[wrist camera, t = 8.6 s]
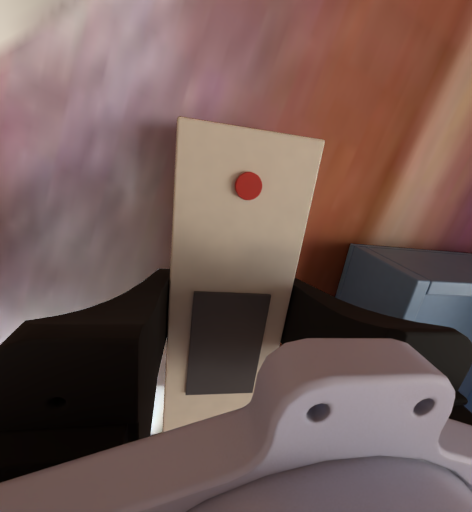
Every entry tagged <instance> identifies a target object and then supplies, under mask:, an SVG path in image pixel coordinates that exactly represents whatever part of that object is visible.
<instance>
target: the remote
mask: <svg viewBox="0 0 472 512" xmlns="http://www.w3.org/2000/svg"><path fill="white" fill-rule="evenodd" d="M324 143H325V141H324V140H322V139H316V138H310V137H304V136H297V135H291V134H285V133H279V132H273V131H267V130H261V129H254V128H248V127H242V126H236V125H230V124H224V123H218V122H211V121H205V120H199V119H193V118H187V117H181V116H180V117H178V118H177V132H176V154H175V175H174V197H173V218H172V240H171V261H170V283H169V305H168V326H167V348H166V369H165V391H164V412H163V432H165V431H169V430H172V429H175V428H178V427H181V426H185V425H188V424H191V423H194V422H198V421H201V420H204V419H207V418H210V417H214V416H217V415H220V414H223V413H227V412H230V411H233V410H236V409H239V408H243V407H245V406H246V405H247V404H249V403H250V401H251V399H252V396H253V393H254V388H255V383H256V378H257V374H258V372H259V370H260V368H261V366H262V364H263V362H264V360H265V358H266V356H268V355H269V354H271V353H272V352H273V351H275V350H276V349H277V348H279V346H280V342H281V337H282V333H283V328H284V324H285V319H286V315H287V310H288V305H289V301H290V296H291V292H292V287H293V283H294V278H295V274H296V269H297V265H298V260H299V256H300V251H301V247H302V242H303V238H304V233H305V229H306V224H307V220H308V215H309V211H310V206H311V202H312V197H313V193H314V188H315V184H316V179H317V175H318V170H319V166H320V161H321V157H322V152H323V148H324Z"/></svg>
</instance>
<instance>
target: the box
mask: <svg viewBox="0 0 472 512" xmlns="http://www.w3.org/2000/svg"><path fill="white" fill-rule="evenodd" d="M335 298H338V299H340V300H342V301H345V302H347V303H350V304H353V305H355V306H358V307H361V308H364V309H367V310H370V311H373V312H377V313H380V314H384V315H388V316H392V317H396V318H400V319H405V320H410V321H415V322H420V323H427V324H433V325H440V326H446V327H451V328H454V329H456V330H457V331H459V332H460V333H462V334H463V335H465V336H466V337H468V338H469V340H470V341H471V342H472V253H460V252H447V251H435V250H423V249H411V248H398V247H386V246H374V245H362V244H350V247H349V251H348V254H347V258H346V261H345V265H344V268H343V272H342V275H341V279H340V282H339V286H338V289H337V293H336V296H335ZM458 391H459V392H460V393H461V394H462V395H463V396H465V397H466V398H467V400H468V403H467V404H466V405H464V406H465V407H466V408H467V409H468V410H469V411H470V412H471V413H472V365H471V367H470V369H469V371H468V373H467V375H466V377H465V379H464V381H463V382H462V384H461V386H460V388H459V390H458Z"/></svg>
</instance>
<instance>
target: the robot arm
mask: <svg viewBox="0 0 472 512" xmlns="http://www.w3.org/2000/svg"><path fill="white" fill-rule="evenodd" d="M169 283H170V269H158V270H157V271H155V272H154V273H153V274H152V275H150V276H149V277H148V278H147V279H145V280H144V281H143V282H141V283H140V284H138V285H137V286H135V287H134V288H132V289H130V290H129V291H127V292H125V293H124V294H122V295H120V296H118V297H115V298H113V299H111V300H109V301H106V302H103V303H101V304H98V305H95V306H92V307H90V308H86V309H83V310H79V311H75V312H71V313H67V314H63V315H58V316H52V317H46V318H40V319H34V320H27V321H25V322H24V323H22V324H21V325H20V326H19V327H18V328H17V329H16V330H15V331H14V332H13V333H12V334H11V335H10V336H9V337H8V338H7V339H6V340H5V341H4V342H3V343H2V344H1V345H0V512H472V413H471V412H470V411H469V410H468V409H467V408H466V407H465V406H464V405H466V404H467V403H468V400H467V398H466V397H465V396H463V395H462V394H461V393H460V392H459V391H458V390H459V388H460V386H461V384H462V382H463V381H464V379H465V377H466V375H467V373H468V371H469V369H470V367H471V365H472V342H471V341H470V340H469V338H468V337H466V336H465V335H463V334H462V333H460V332H459V331H457V330H456V329H454V328H451V327H446V326H440V325H433V324H427V323H420V322H415V321H410V320H405V319H400V318H396V317H392V316H388V315H384V314H380V313H377V312H373V311H370V310H367V309H364V308H361V307H358V306H355V305H353V304H350V303H347V302H345V301H342V300H340V299H338V298H335V297H333V296H331V295H329V294H327V293H325V292H323V291H321V290H319V289H317V288H315V287H313V286H311V285H309V284H307V283H305V282H303V281H301V280H299V279H297V278H294V283H293V287H292V292H291V296H290V301H289V305H288V310H287V315H286V319H285V324H284V328H283V333H282V337H281V343H282V346H280V347H279V348H277V349H276V350H275V351H273V352H272V353H271V354H269V355H268V356H266V358H265V360H264V362H263V364H262V366H261V368H260V370H259V372H258V374H257V378H256V383H255V388H254V393H253V396H252V399H251V401H250V403H249V404H247V405H246V406H245V407H243V408H239V409H236V410H233V411H230V412H227V413H223V414H220V415H217V416H214V417H210V418H207V419H204V420H201V421H198V422H194V423H191V424H188V425H185V426H181V427H178V428H175V429H172V430H169V431H165V432H162V433H159V434H156V435H152V436H150V432H151V424H152V416H153V408H154V400H155V392H156V385H157V377H158V372H159V367H160V363H161V359H162V355H163V350H164V346H165V342H166V338H167V326H168V305H169Z"/></svg>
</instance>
